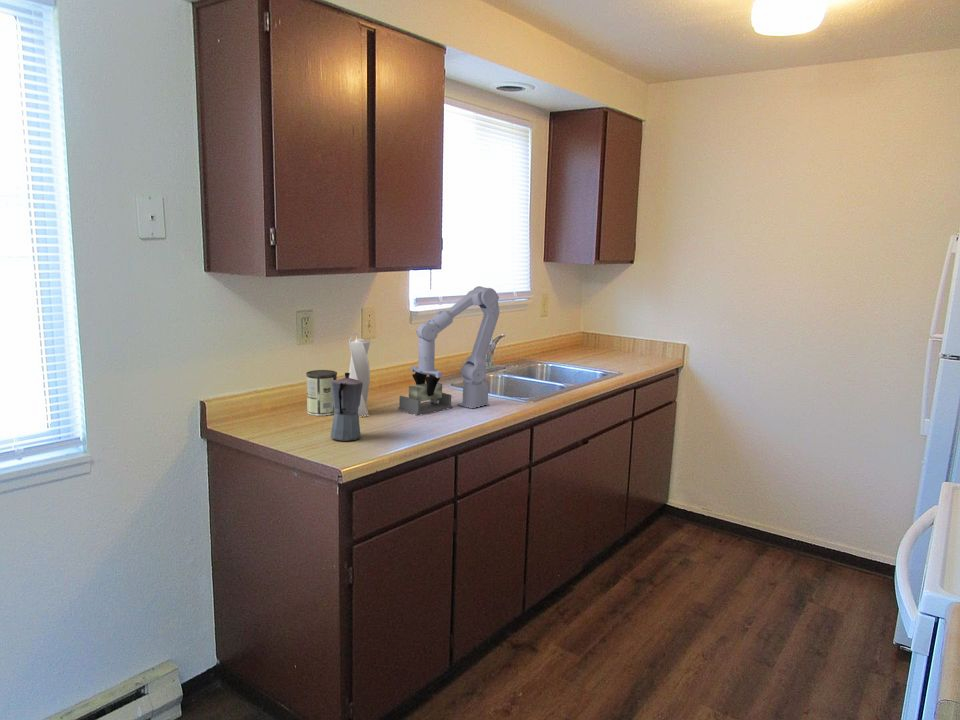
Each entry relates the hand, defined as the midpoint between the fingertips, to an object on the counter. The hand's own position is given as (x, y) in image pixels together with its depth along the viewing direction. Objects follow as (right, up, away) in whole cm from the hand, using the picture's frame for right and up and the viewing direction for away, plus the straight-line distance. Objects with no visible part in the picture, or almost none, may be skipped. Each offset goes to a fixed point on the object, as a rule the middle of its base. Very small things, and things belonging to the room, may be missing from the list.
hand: (425, 394), depth 239 cm
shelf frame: (0, -5, +1) cm, 5 cm away
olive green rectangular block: (0, -2, 0) cm, 2 cm away
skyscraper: (-23, -7, -10) cm, 25 cm away
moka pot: (-21, -12, -38) cm, 45 cm away
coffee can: (-35, -6, -9) cm, 37 cm away
